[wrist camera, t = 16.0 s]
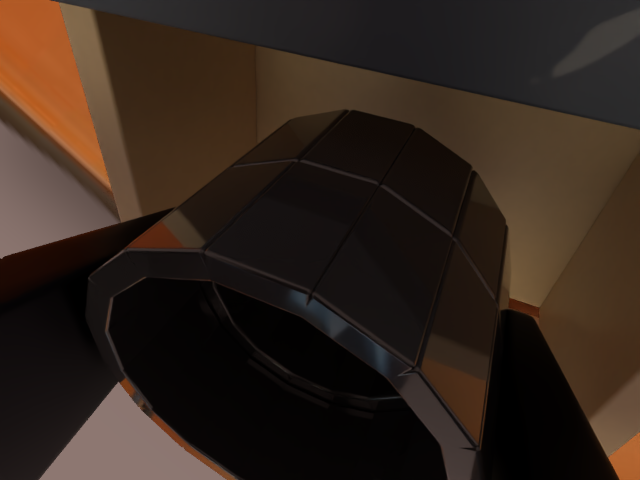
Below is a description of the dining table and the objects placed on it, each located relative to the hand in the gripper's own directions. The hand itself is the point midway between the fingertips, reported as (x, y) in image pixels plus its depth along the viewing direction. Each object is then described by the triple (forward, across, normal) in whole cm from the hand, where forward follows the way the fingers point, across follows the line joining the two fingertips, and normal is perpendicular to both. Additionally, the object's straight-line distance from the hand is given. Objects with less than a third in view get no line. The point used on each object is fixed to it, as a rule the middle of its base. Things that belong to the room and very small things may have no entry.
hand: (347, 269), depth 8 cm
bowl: (+1, 0, 0) cm, 1 cm away
